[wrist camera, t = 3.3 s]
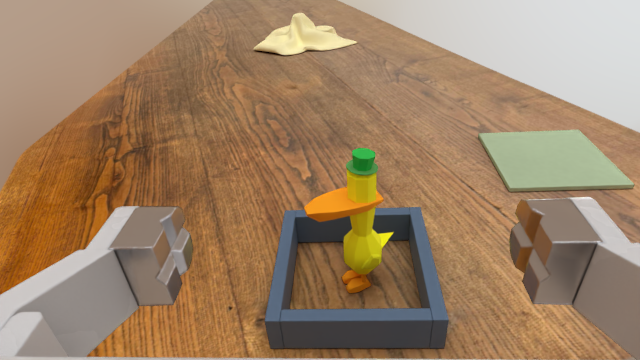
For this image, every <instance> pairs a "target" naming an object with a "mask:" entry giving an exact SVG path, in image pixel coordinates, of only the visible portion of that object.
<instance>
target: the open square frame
mask: <svg viewBox="0 0 640 360" xmlns="http://www.w3.org/2000/svg"><path fill="white" fill-rule="evenodd" d="M351 229H352V225H351V220H350V216H347V217H342V218H338V219H334V220H329V221H323V222H319V221H316V220H314V219H312V218H310V217H308V216H306V213H305V210H291V211H285V214H284V219H283V225H282V230H281V236H280V241H279V246H278V252H277V257H276V263H275V268H274V273H273V279H272V284H271V290H270V295H269V300H268V306H267V311H266V317H265V325H266V330H267V334H268V339H269V344H270V348H271V349H284V347H285V348H444V346H445V340H446V333H447V327H448V316H447V312H446V308H445V304H444V300H443V296H442V292H441V288H440V284H439V280H438V276H437V272H436V268H435V264H434V260H433V256H432V252H431V248H430V244H429V240H428V236H427V232H426V228H425V224H424V220H423V216H422V212H421V208H420V207H409V208H408V207H407V208H375V214H374V221H373V227H372V229H373V230H374V231H375V232H376V233H377V234H381V233H390V232H394V233H393V234H392V235H391V237H390V238H389V240H388V241H396V240H409V244H410V249H411V255H412V260H413V265H414V270H415V275H416V281H417V286H418V291H419V296H420V301H421V306H422V308H402V309H290V301H291V293H292V286H293V278H294V270H295V263H296V255H297V247H298V242H344V236H345V235H346V234H347V233H348V232H349V231H350V230H351Z"/></svg>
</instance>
